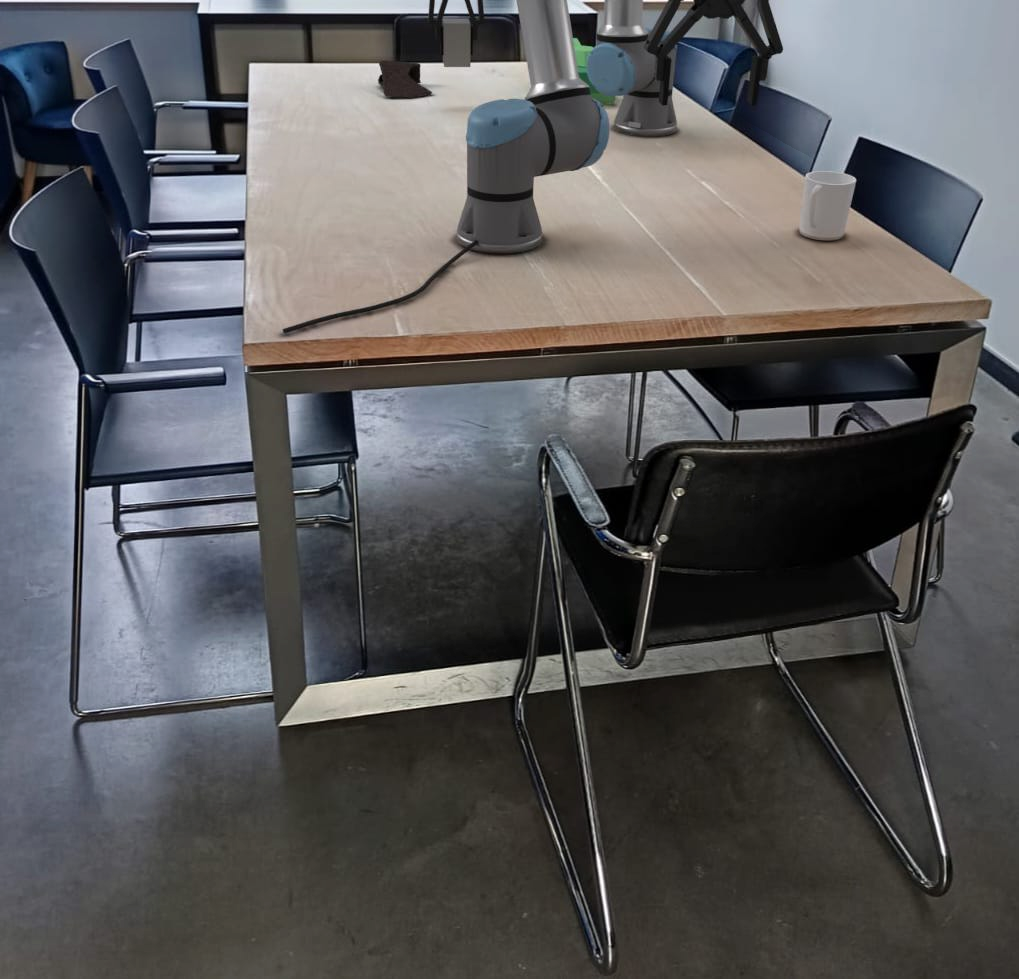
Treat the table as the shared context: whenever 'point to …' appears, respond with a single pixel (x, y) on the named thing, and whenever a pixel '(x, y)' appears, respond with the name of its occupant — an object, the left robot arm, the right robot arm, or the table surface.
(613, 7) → the right robot arm
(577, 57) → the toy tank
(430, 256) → the table surface
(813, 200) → the mug
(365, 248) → the table surface
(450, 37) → the brick
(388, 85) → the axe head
